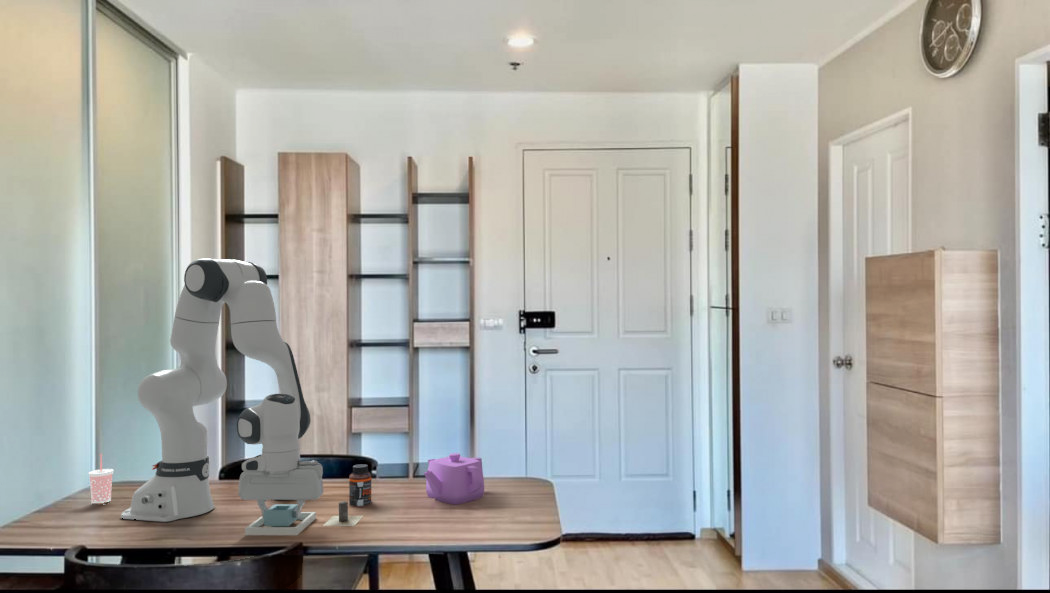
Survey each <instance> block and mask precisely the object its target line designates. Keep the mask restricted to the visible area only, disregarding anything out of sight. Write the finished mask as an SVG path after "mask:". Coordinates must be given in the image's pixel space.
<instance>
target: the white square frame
mask: <svg viewBox="0 0 1050 593" xmlns="http://www.w3.org/2000/svg"><path fill="white" fill-rule="evenodd" d="M297 520H300V522H299V523H298V524H297V525H296V526H263V525H264V518H262V515H261V516H260V517H259V518H257V519H255V521H253V522H252V523H250V524H249V525H248V526H246V527H245V528H244V536H298V535H299V534H301V533H302V532H303V531H304V530H305V529H306V528H307V527H308V526H309V525H310V524H312V523H313V522H314V521H315V520H317V512H316V511H301V516H300V517H299V518H298V519H297ZM297 520H296V521H297ZM301 520H302V521H301Z"/></svg>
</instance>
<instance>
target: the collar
mask: <svg viewBox="0 0 1050 593" xmlns="http://www.w3.org/2000/svg"><path fill="white" fill-rule="evenodd" d="M298 505H299V504H297V503H295V504H293V503H291V504H288V503H287V504H284V503H283V504H279V503H277V504H275V503H274V504H273V505H272V506H270V507H268V509H267V510H266V511H264V524H263V525H264V526H263V527H290V526H291V525H292V524H293V523H294V522H296V521H297V519H298V518H293V517H292V515H293V514H292V511H293V510H294V509H297V507H298Z"/></svg>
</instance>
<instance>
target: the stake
mask: <svg viewBox="0 0 1050 593" xmlns="http://www.w3.org/2000/svg"><path fill="white" fill-rule="evenodd" d="M363 517H364V515H349V502H348V501H345V500H344V501H340V502H338V515H332V516H331V517H330V518H329V519H328V520H327V521H325V523H324V524H323V525H322V526H323V527H355V526H356V525H357V523H358V522H360V521H361V519H362V518H363Z"/></svg>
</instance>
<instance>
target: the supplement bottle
mask: <svg viewBox="0 0 1050 593" xmlns="http://www.w3.org/2000/svg"><path fill="white" fill-rule="evenodd" d="M368 468H369V466H368V464H362V463H361V464H355V465H353V466H352V472H351V473H350V474H349V478H348V480H349V482H348V483H349V488H348V489H349V495H348V496H349V498H348V501H349V502H348V506H351V507H357V508H358V507H365V506H369V505H371V504H372V474H371V472H369V469H368Z"/></svg>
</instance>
